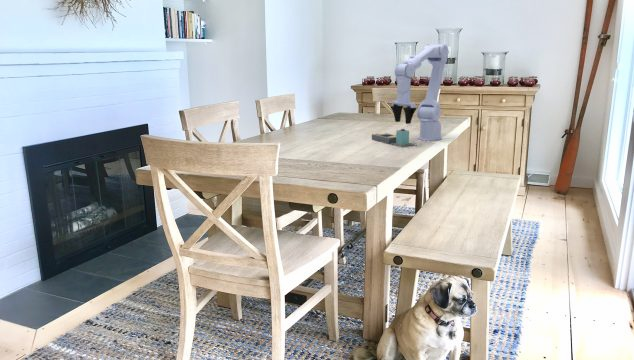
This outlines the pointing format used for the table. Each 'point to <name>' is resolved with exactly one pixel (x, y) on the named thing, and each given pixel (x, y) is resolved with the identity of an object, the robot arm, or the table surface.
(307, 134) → the table surface
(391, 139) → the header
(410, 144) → the mat
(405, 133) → the plug
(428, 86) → the robot arm
